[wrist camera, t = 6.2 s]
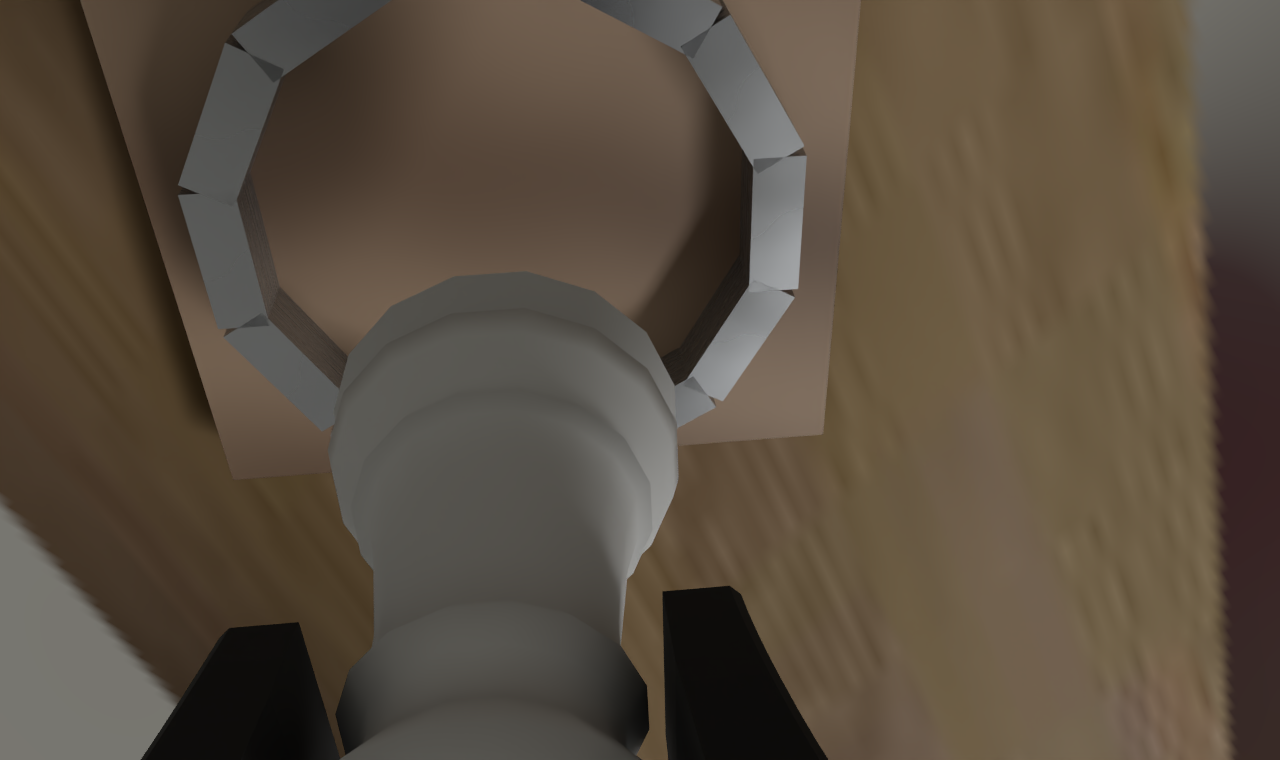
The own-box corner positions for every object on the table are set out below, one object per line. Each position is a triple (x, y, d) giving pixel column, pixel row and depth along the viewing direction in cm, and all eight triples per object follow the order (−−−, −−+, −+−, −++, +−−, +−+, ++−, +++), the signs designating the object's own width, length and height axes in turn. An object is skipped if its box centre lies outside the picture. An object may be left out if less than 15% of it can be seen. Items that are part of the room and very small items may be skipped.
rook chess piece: (266, 386, 14) (8, 981, 7) (534, 184, 13) (529, 657, 6) (489, 589, 16) (452, 1212, 9) (737, 428, 15) (905, 994, 8)
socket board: (811, 403, 21) (835, 468, 20) (244, 446, 21) (221, 516, 19) (855, -155, 16) (893, -128, 14) (73, -118, 15) (18, -85, 13)
